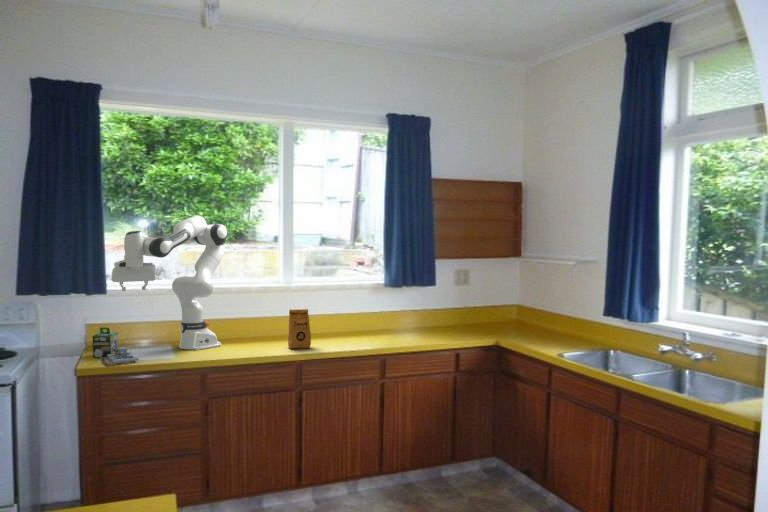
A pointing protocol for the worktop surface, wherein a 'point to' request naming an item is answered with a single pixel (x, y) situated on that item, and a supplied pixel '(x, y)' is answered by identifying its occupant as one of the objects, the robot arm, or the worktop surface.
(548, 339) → the worktop surface
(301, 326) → the coffee package
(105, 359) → the board
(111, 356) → the panel
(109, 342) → the chalk box
